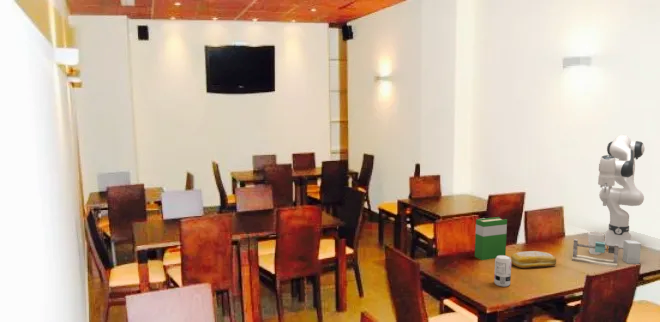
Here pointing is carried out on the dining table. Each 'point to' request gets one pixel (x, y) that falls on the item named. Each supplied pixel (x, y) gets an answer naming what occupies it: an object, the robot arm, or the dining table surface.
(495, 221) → the green cereal box
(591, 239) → the foam cup
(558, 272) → the dining table surface
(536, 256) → the bread
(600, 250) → the sleeve
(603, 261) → the rail stand
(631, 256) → the supplement box
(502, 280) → the supplement can
